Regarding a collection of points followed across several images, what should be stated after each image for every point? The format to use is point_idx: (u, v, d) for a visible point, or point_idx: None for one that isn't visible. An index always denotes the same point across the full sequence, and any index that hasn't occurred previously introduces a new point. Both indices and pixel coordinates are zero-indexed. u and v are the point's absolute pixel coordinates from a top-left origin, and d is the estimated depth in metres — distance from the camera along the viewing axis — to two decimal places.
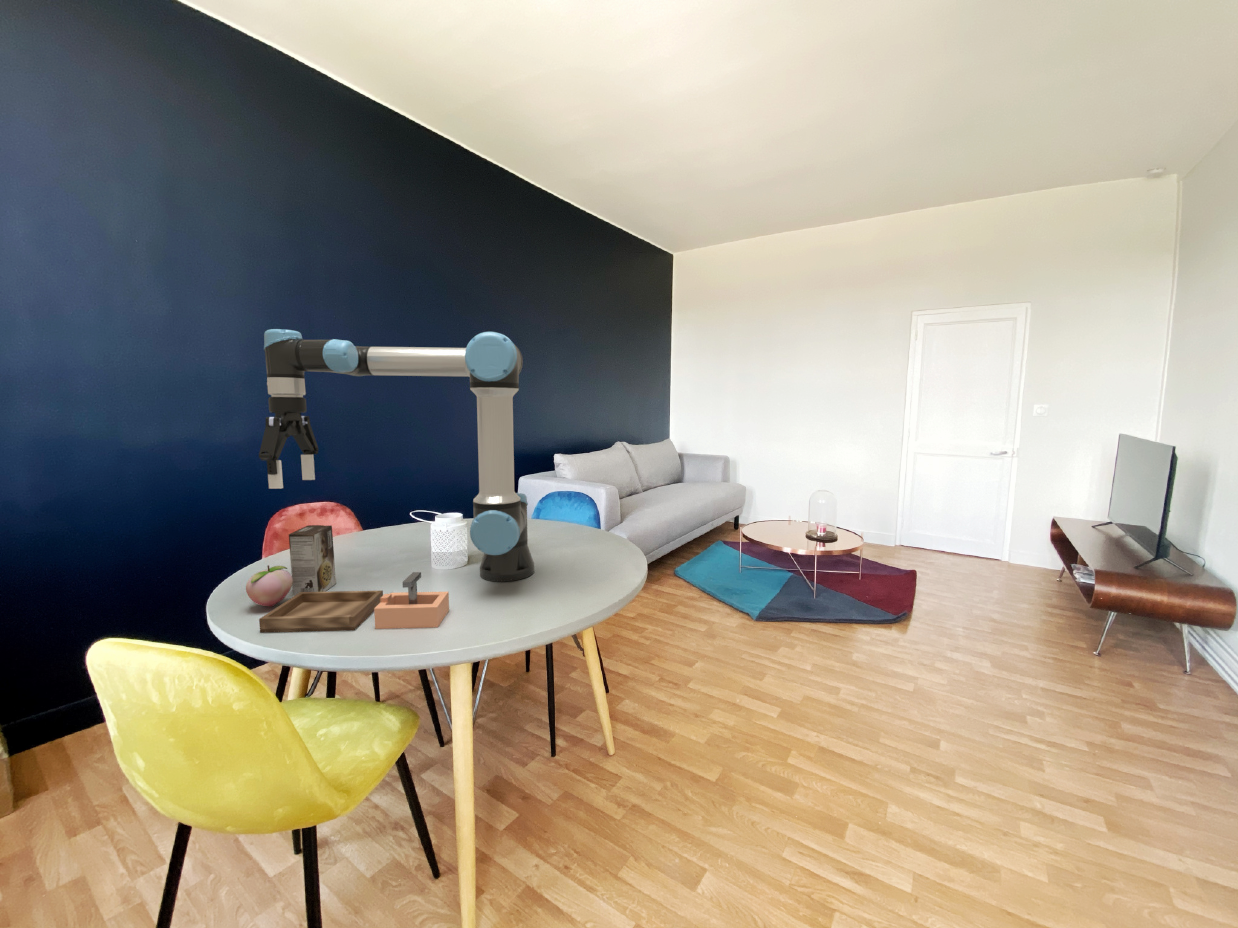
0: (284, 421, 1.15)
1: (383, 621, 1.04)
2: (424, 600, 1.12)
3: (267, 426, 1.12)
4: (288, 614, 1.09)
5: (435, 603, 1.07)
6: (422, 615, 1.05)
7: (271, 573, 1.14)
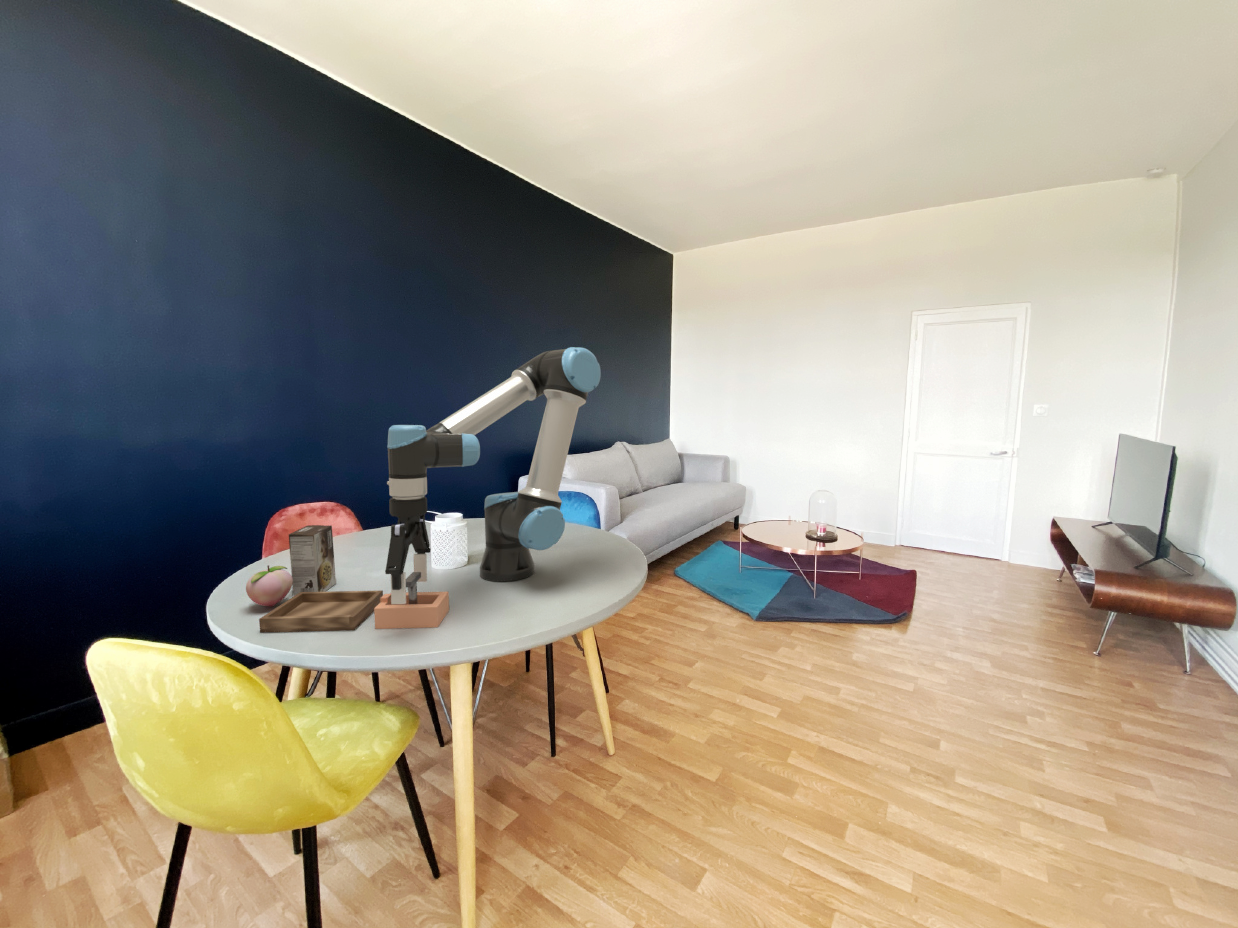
0: (408, 527, 1.03)
1: (383, 621, 1.04)
2: (424, 600, 1.12)
3: (393, 535, 1.00)
4: (288, 614, 1.09)
5: (435, 603, 1.07)
6: (422, 615, 1.05)
7: (271, 573, 1.14)
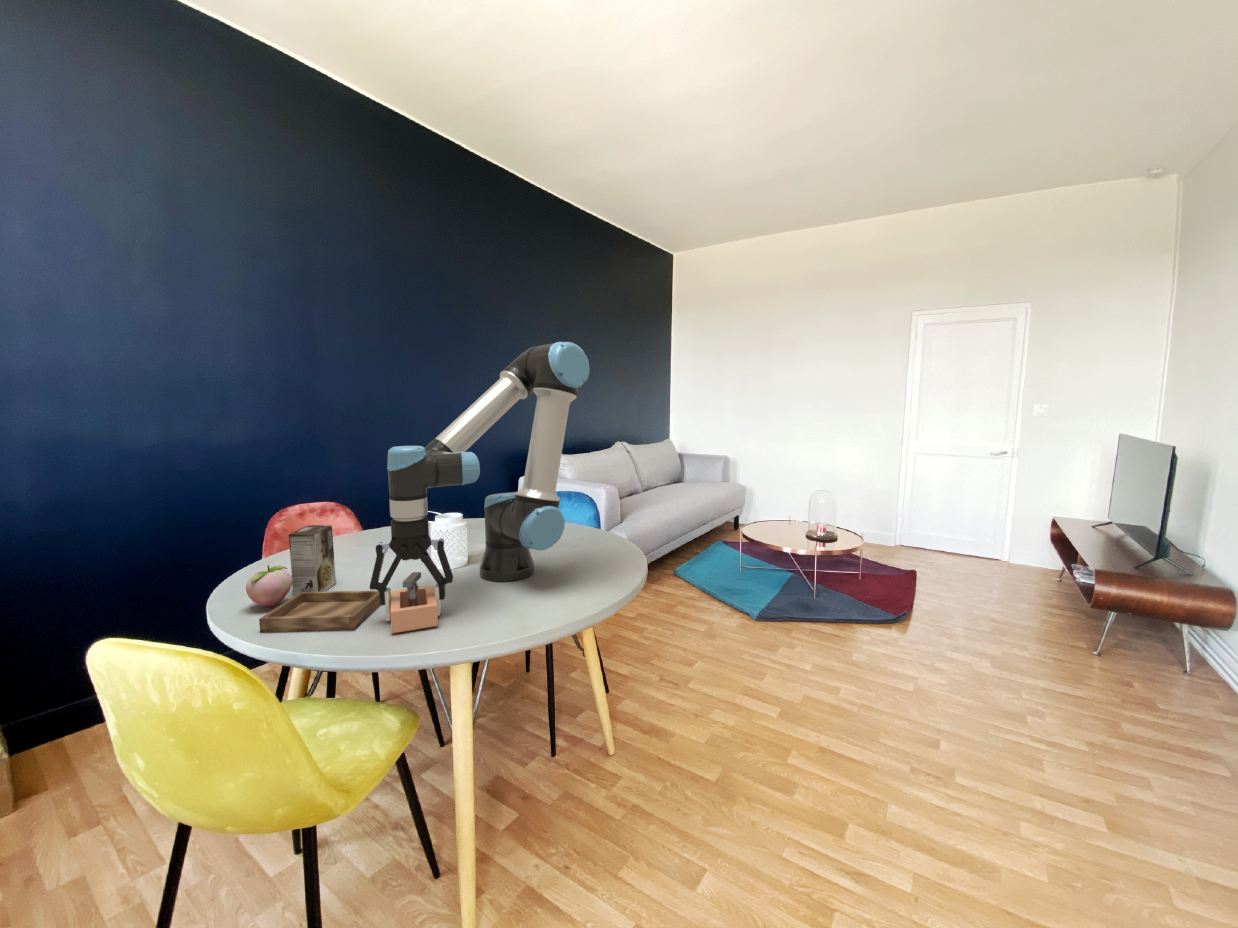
0: (392, 546, 1.05)
1: None
2: None
3: None
4: (288, 614, 1.09)
5: (400, 609, 1.02)
6: None
7: (271, 573, 1.14)
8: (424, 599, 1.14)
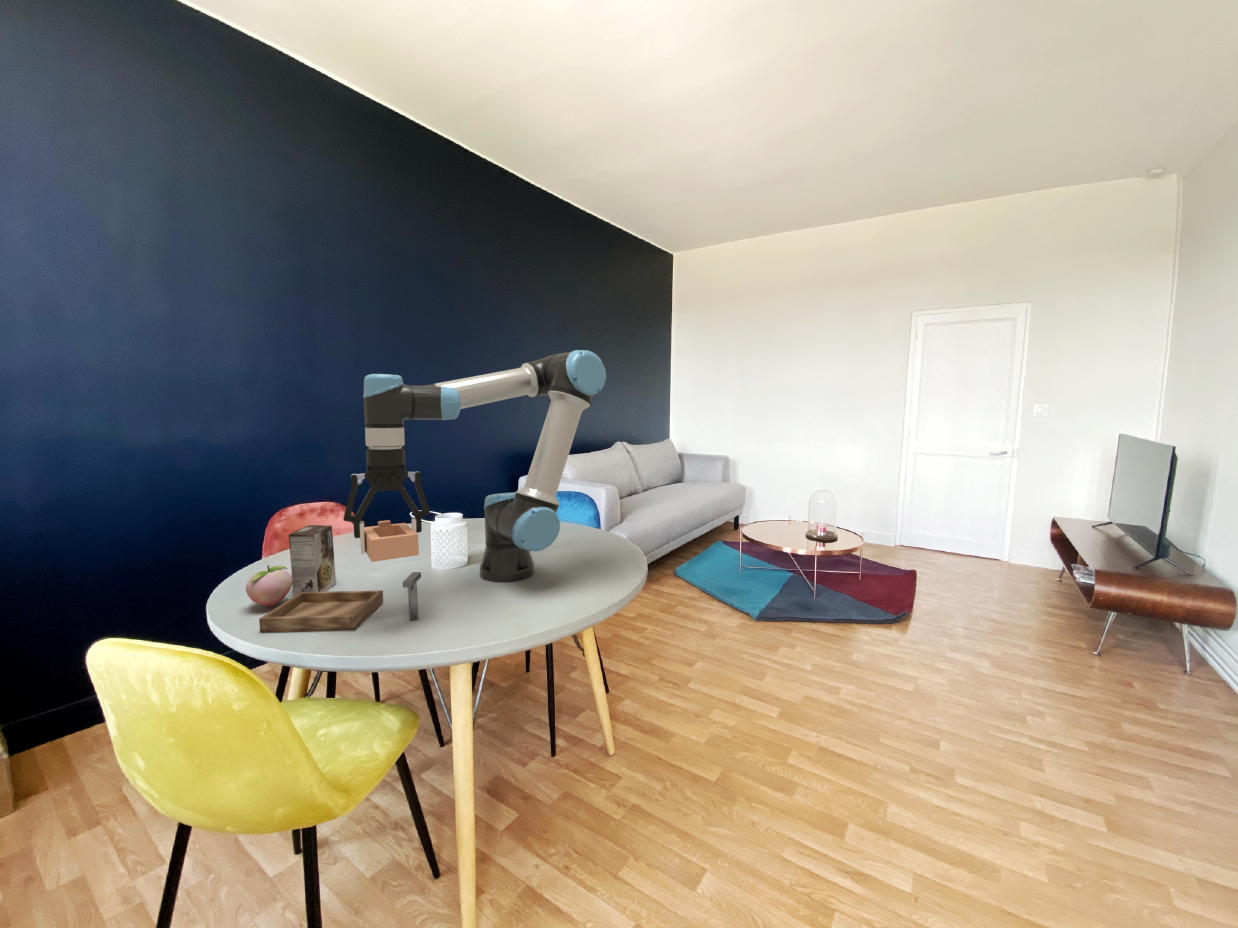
0: (367, 476, 1.03)
1: None
2: None
3: None
4: (288, 614, 1.09)
5: (380, 538, 1.01)
6: (369, 545, 1.02)
7: (271, 573, 1.14)
8: None
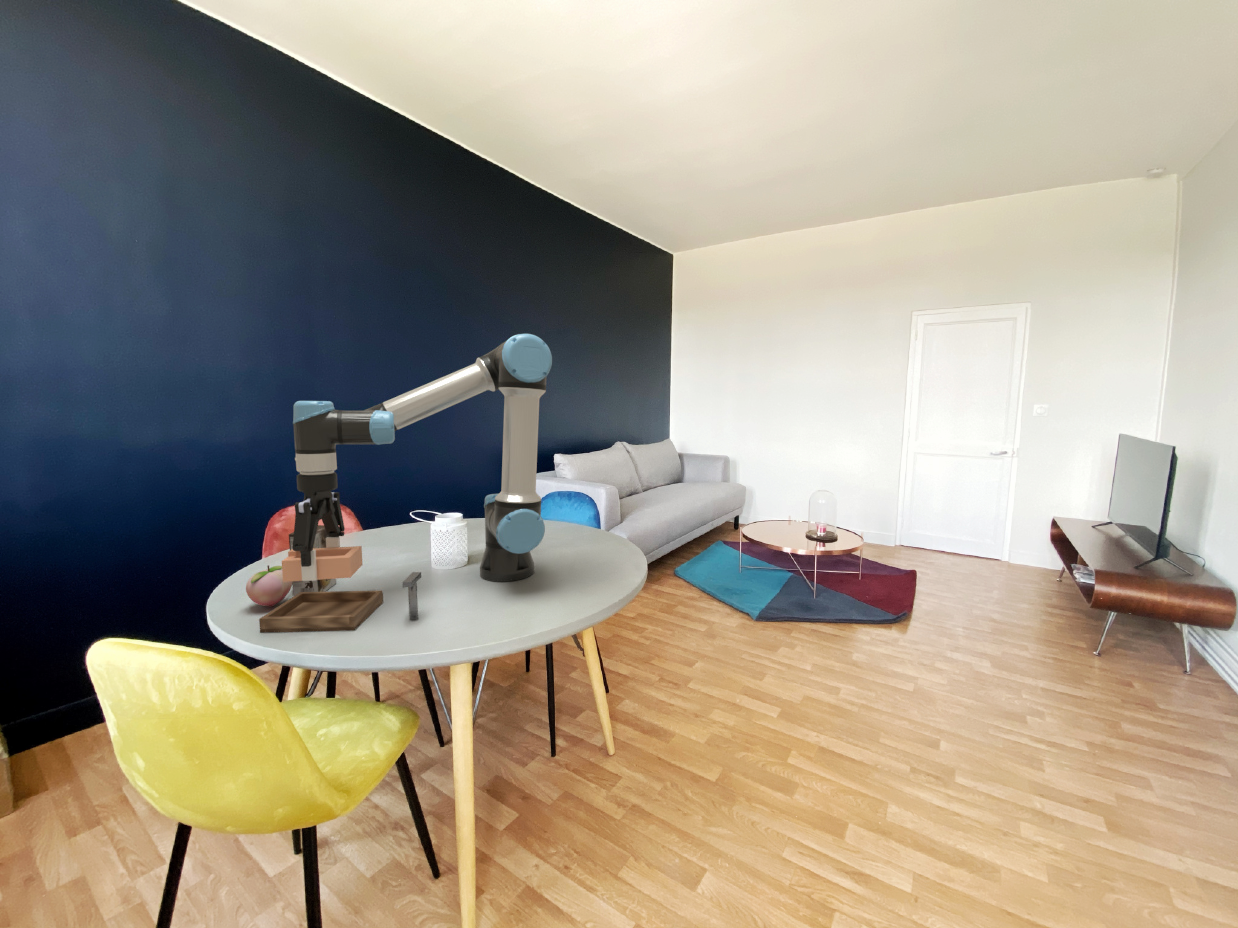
0: (314, 502, 1.04)
1: (292, 573, 1.04)
2: (336, 555, 1.12)
3: (297, 513, 1.01)
4: (288, 614, 1.09)
5: (347, 555, 1.07)
6: (334, 566, 1.05)
7: (271, 573, 1.14)
8: None
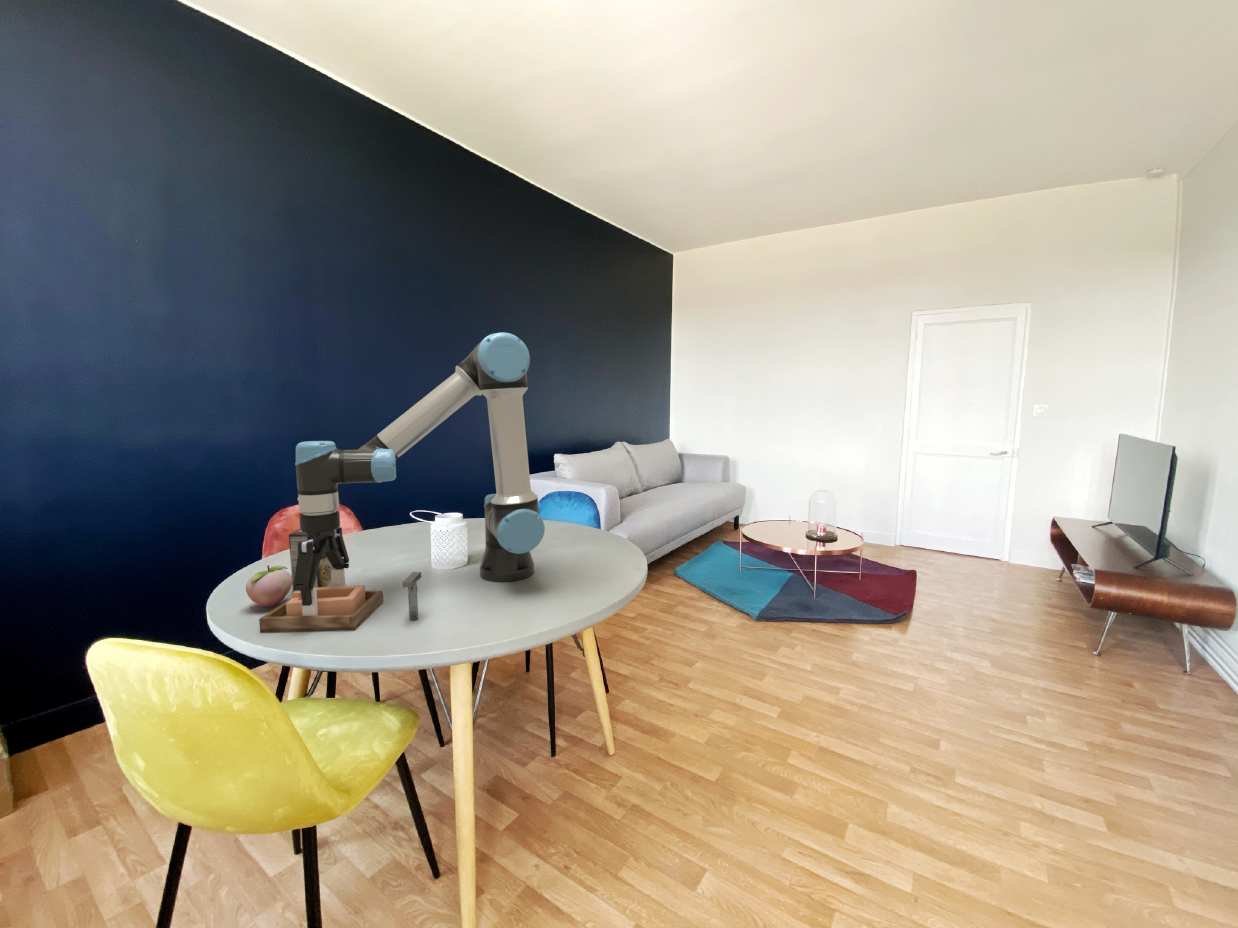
0: (317, 542, 1.05)
1: None
2: (339, 594, 1.13)
3: (300, 553, 1.02)
4: None
5: (351, 596, 1.08)
6: (337, 608, 1.06)
7: (271, 573, 1.14)
8: None
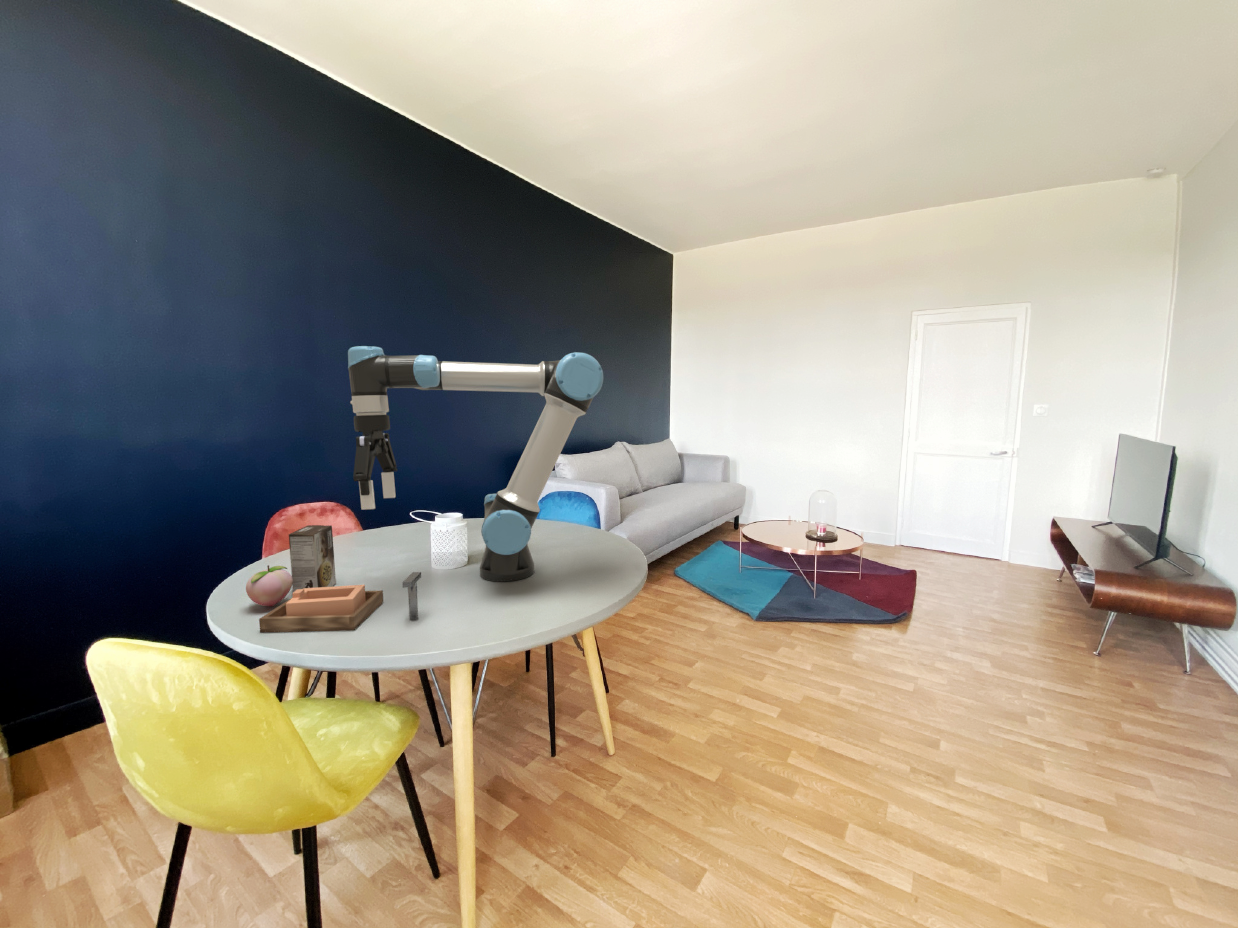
0: (372, 440, 1.13)
1: None
2: (339, 594, 1.13)
3: (358, 446, 1.09)
4: None
5: (351, 596, 1.08)
6: (337, 608, 1.06)
7: (271, 573, 1.14)
8: None
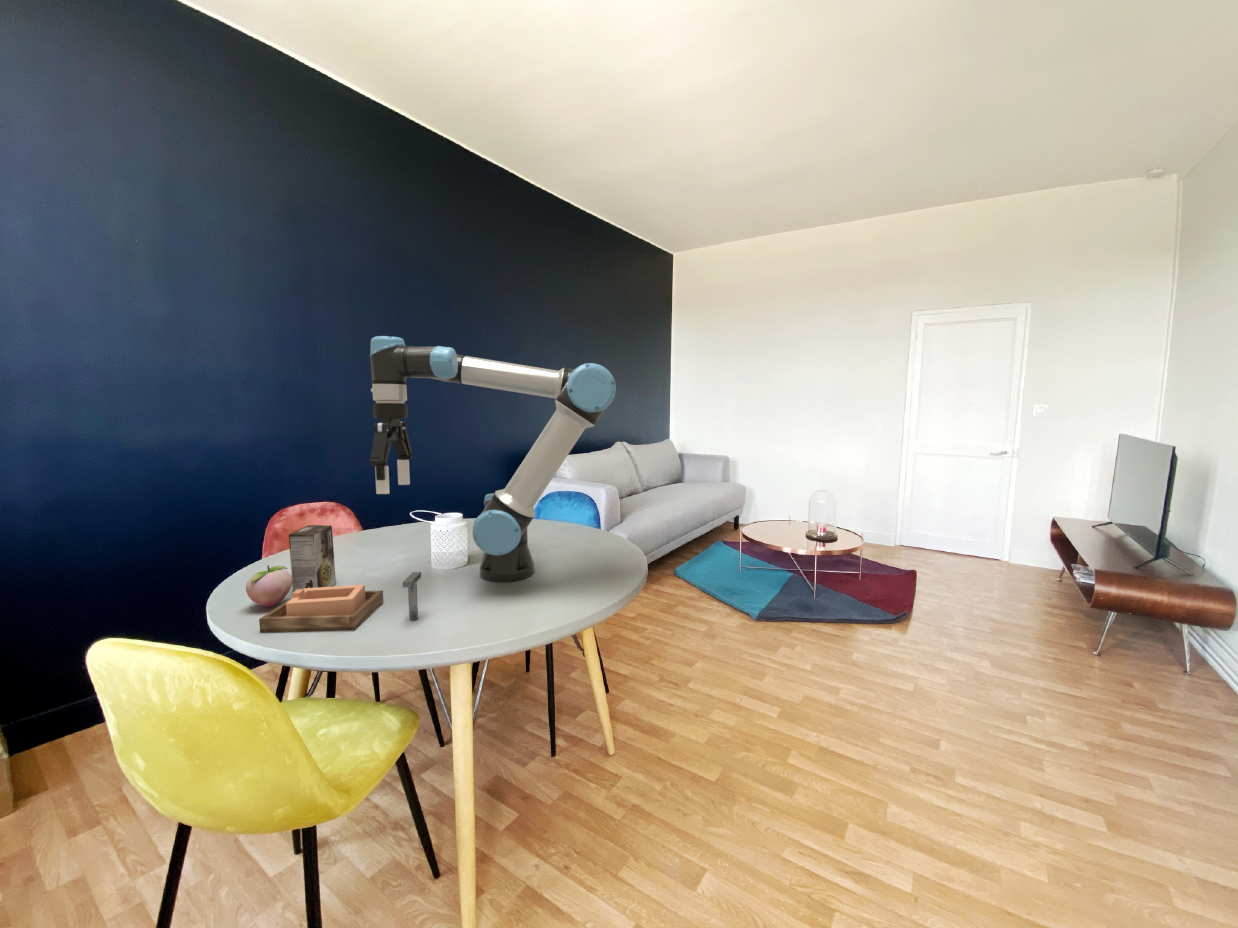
0: (389, 427, 1.16)
1: None
2: (339, 594, 1.13)
3: (376, 432, 1.13)
4: None
5: (351, 596, 1.08)
6: (337, 608, 1.06)
7: (271, 573, 1.14)
8: None
